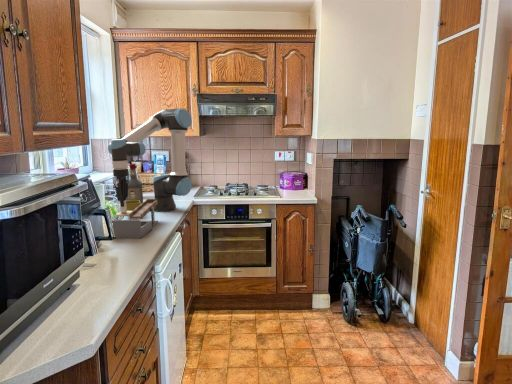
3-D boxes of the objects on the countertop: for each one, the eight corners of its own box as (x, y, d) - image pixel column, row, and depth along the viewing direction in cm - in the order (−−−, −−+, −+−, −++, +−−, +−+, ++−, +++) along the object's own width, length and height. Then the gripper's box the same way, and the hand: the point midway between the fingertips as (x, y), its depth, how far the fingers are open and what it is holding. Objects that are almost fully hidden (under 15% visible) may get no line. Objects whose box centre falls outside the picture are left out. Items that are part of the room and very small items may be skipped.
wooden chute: (132, 206, 213) (131, 198, 212) (158, 206, 212) (157, 198, 211) (114, 221, 190) (112, 212, 189) (143, 222, 189) (142, 213, 188)
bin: (124, 229, 192) (123, 213, 191) (152, 229, 191) (151, 213, 190) (111, 238, 178) (109, 220, 176) (141, 238, 176) (139, 220, 175)
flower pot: (126, 215, 225) (124, 201, 223) (140, 213, 228) (139, 199, 226) (126, 218, 217) (125, 203, 215) (141, 216, 220) (140, 202, 218)
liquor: (130, 207, 247) (127, 163, 242) (144, 206, 248) (141, 163, 243) (126, 210, 238) (123, 164, 233) (141, 209, 239) (137, 164, 234)
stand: (137, 222, 206) (136, 206, 204) (158, 222, 205) (157, 206, 203) (132, 226, 198) (130, 209, 197) (153, 226, 197) (152, 209, 196)
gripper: (119, 167, 197) (122, 209, 202) (107, 170, 185) (111, 214, 189) (132, 167, 197) (135, 209, 201) (121, 170, 184) (125, 215, 188)
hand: (123, 212), depth 195 cm, fingers closed
